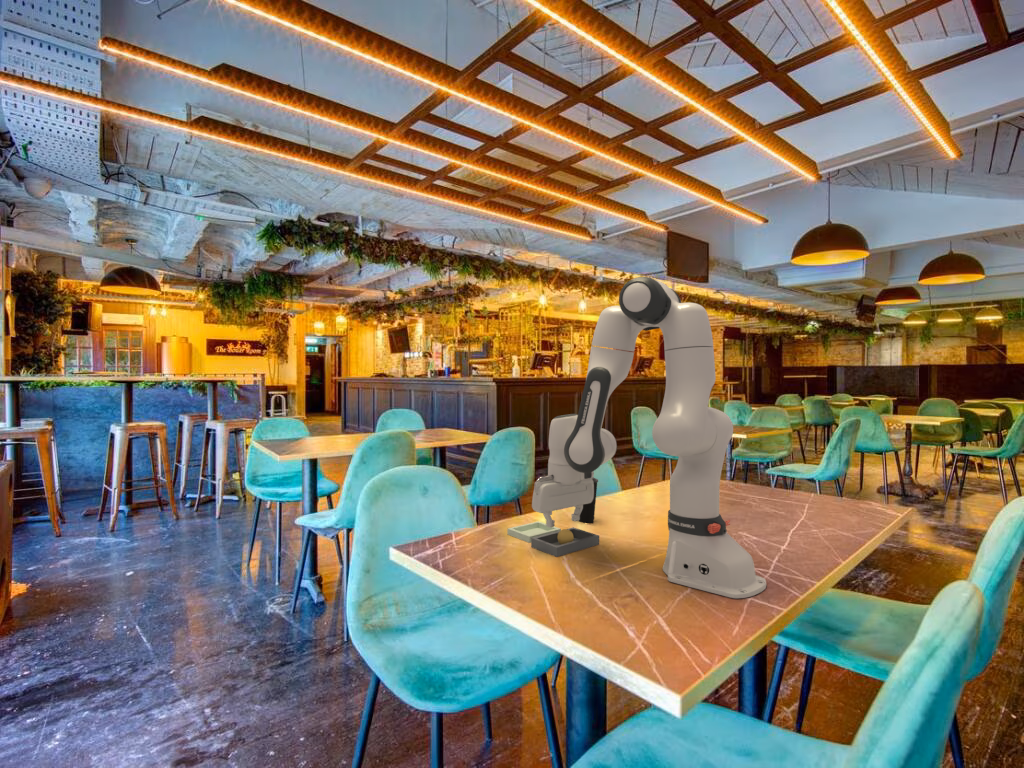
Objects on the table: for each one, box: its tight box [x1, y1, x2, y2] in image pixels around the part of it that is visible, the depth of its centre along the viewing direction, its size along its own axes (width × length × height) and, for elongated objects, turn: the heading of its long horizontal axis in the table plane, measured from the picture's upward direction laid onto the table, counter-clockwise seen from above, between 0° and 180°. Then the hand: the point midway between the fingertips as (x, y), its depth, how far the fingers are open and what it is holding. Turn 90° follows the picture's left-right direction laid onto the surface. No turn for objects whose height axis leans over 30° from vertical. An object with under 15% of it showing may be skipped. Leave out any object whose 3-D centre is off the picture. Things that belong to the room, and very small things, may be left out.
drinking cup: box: [578, 476, 599, 524], centre depth 165 cm, size 8×8×20 cm
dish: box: [530, 526, 600, 558], centre depth 139 cm, size 10×16×3 cm, turn 129°
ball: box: [557, 528, 574, 544], centre depth 139 cm, size 4×4×4 cm
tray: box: [506, 520, 562, 544], centre depth 150 cm, size 10×12×2 cm
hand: (563, 523), depth 140 cm, fingers open, 8 cm apart
